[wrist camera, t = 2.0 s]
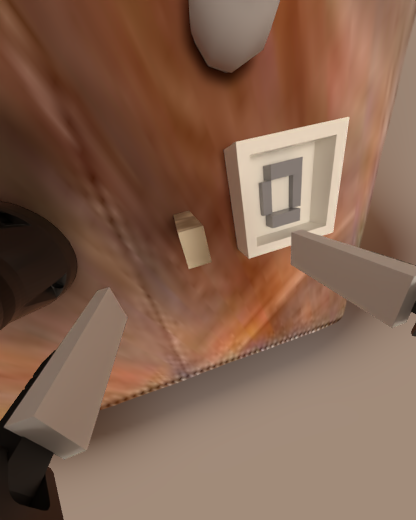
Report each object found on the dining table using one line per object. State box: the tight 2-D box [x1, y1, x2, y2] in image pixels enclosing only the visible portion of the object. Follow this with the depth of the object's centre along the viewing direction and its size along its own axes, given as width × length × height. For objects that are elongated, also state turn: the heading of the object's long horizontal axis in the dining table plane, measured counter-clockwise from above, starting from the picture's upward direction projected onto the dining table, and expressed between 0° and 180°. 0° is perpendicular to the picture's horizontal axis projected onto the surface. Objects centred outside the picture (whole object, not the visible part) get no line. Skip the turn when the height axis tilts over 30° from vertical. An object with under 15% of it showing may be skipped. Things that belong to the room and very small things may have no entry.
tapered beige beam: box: [173, 211, 212, 269], centre depth 21 cm, size 2×4×11 cm, turn 13°
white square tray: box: [224, 117, 349, 258], centre depth 25 cm, size 16×16×4 cm
